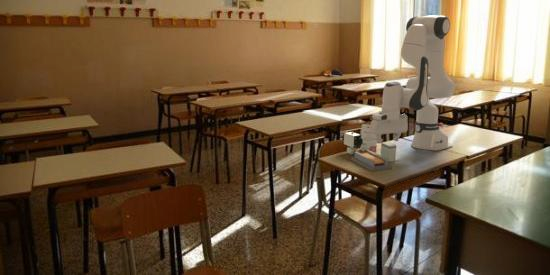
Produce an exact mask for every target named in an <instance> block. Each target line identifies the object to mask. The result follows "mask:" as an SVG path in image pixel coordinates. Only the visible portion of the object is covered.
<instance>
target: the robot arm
mask: <svg viewBox="0 0 550 275" xmlns="http://www.w3.org/2000/svg"><path fill="white" fill-rule="evenodd" d="M405 26H406V27H405V31H406V33H405V36H404V38H403V42H402V47H401V50H400V55H401V58H402V60H403V61H404V62H405V63H406V64H408V65H409V66H411V67H413V68H415V70H416V76H412V77H410V78H409V79H408V80H407V81H406V82H405V83H406V84H405V87H404V86H402V84H401V82H399V81H389V82H386V83H385V84H384V87H383V90H382V91H383V92H382V107H381V110H379V111H377V112H375V113H373V114H372V120H371V123H370V125H371V127H369V128H370V132H371V133H372V134H374V135H377V143H383V142H384V139H383V138H382V135H387V134H388V135H389V134H396V135H395V136H394V138H393V142H399V141H400V140H399V139H400V137H401V136H402V133H407V132H408V129H409V126H408V125H409V124H408V120H409V119H408V118H409V117H408V115H407V114H405V113H403V114H401V108H405V109H412V110H415V111H416V120H415V124H414V135H413V139H412V142H411V144H410V145H411V146H412V147H413V148H414V149H415V148H416V149H419V150H426V151H427V150H428V151H433V152H434V151H440V150H445V149H448V148H452V147H453V144H451V143H449V137H448V135H447V134H446V133H445V132H443V130H441V128H442V127H444V123H443V122H439V121H438V118H439V109H438V106H437V105H435V104H433V103H432V102H431V101H430V98H431V99H432V98H433V99H449V98H451V97H452V96H453V95H454V94H455V91H456V85H455V82H454V81H453V80H452V78H450V77H449V75H448V74H447V72H446V70H445V63H444V62H445V50H446V38H445V37H446V36H447V35H448V33H449V31H450V28H451V22H450V19H449V18H448V17H447V16H445V15H430V14H429V15H421V16H413V17H411V18H410V19H409V20H408V21H407V23H406V25H405ZM429 73H430V76H429Z"/></svg>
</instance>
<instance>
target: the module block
mask: <svg viewBox="0 0 550 275" xmlns="http://www.w3.org/2000/svg"><path fill="white" fill-rule="evenodd" d="M396 153H397V145H396V144H394V143H391V142H389V141H385V142H384V141H383V142H382V143H381V145H380V156H382V157H384V158H387V159H388V162H395V161H396V157H397V156H396V155H397V154H396Z"/></svg>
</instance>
